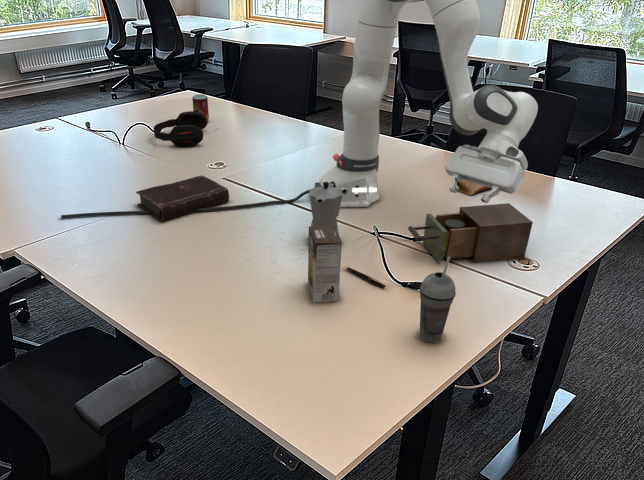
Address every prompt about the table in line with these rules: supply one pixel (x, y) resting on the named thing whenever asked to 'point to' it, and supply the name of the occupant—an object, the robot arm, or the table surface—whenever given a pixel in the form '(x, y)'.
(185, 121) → the headset
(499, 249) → the cabinet
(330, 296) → the coffee box
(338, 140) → the table surface
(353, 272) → the fountain pen
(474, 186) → the sunglasses case
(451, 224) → the yellow jar
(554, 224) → the table surface
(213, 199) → the diary
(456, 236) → the drawer
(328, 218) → the coffeepot
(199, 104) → the soda can
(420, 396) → the table surface
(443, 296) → the beverage cup
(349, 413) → the table surface
